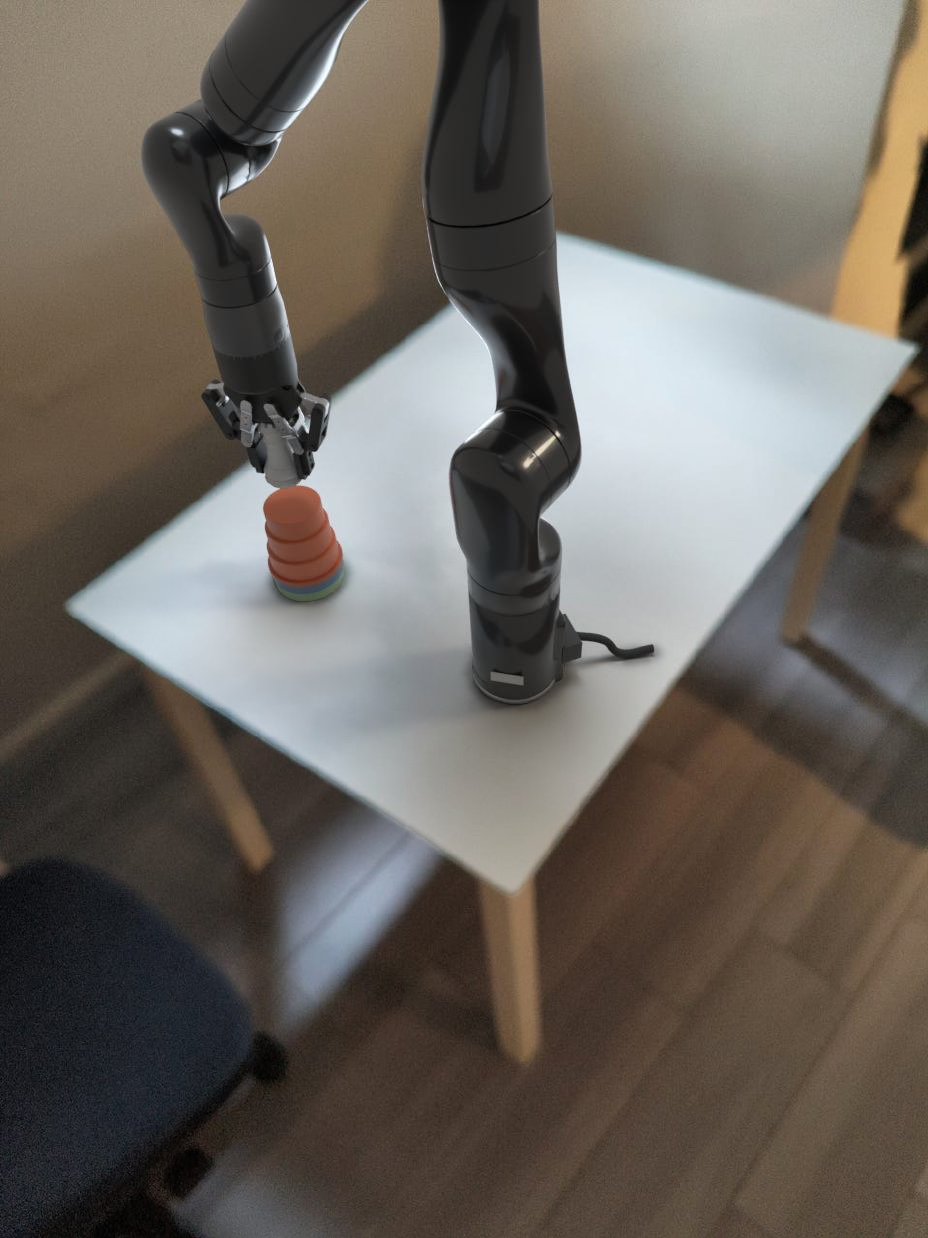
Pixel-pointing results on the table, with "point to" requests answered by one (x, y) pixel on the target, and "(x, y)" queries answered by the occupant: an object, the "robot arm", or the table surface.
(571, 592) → the table surface
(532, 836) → the table surface
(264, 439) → the rook chess piece
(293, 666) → the table surface
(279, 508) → the cup stack
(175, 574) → the table surface
